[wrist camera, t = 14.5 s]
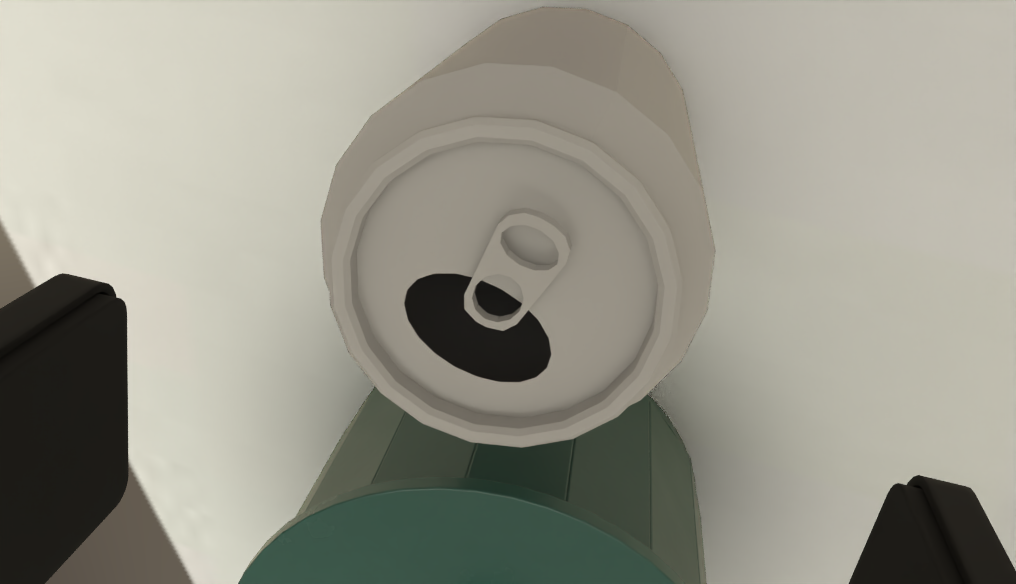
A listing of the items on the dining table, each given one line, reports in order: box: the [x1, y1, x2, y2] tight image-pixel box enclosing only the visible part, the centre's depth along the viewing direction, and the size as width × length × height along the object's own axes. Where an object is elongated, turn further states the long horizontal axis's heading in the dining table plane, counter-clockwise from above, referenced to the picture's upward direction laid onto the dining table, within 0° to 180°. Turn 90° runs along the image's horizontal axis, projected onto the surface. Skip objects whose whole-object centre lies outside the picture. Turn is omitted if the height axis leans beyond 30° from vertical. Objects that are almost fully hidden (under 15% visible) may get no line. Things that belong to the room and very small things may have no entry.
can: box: [321, 7, 715, 448], centre depth 21 cm, size 8×8×12 cm
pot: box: [296, 387, 707, 584], centre depth 28 cm, size 13×13×8 cm
